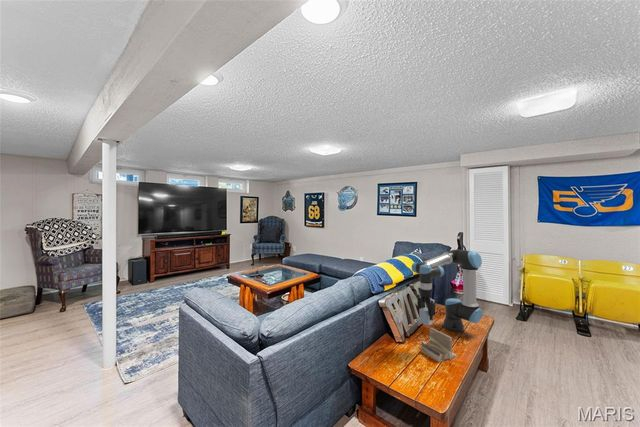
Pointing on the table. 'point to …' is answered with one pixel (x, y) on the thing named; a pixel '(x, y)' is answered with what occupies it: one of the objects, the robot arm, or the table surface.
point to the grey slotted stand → (439, 346)
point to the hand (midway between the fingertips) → (426, 322)
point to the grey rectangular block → (424, 316)
